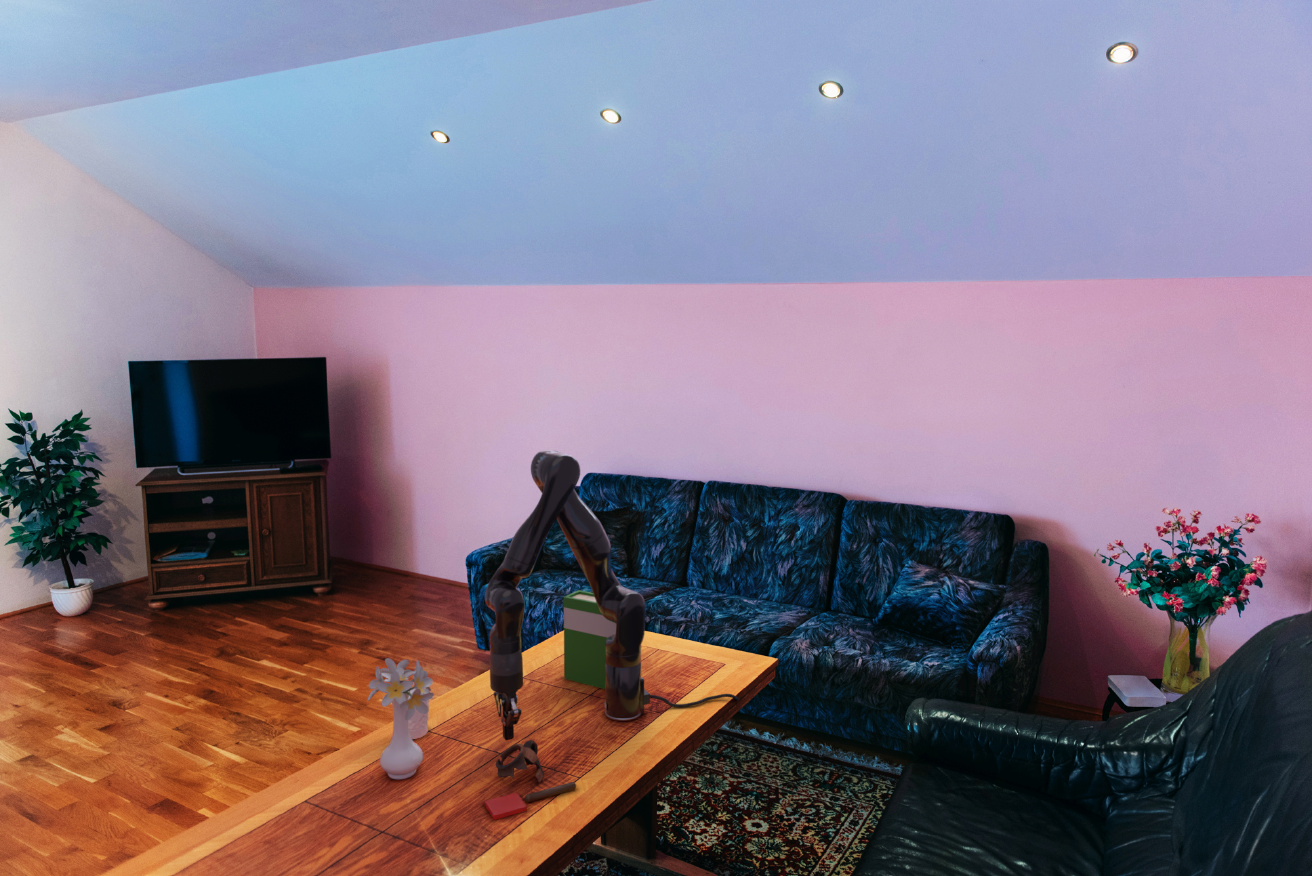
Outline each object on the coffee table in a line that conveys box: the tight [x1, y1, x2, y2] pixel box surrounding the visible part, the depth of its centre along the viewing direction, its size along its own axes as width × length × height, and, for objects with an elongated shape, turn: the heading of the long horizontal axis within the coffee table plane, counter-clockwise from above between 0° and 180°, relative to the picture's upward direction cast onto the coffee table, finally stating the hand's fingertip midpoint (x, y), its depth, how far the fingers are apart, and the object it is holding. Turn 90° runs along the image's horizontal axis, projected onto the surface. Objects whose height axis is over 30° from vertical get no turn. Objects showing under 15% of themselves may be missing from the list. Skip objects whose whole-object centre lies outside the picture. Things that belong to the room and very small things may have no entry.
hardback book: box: [563, 589, 616, 690], centre depth 235 cm, size 18×7×24 cm, turn 60°
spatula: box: [484, 781, 577, 821], centre depth 176 cm, size 19×6×2 cm, turn 119°
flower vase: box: [367, 657, 435, 780], centre depth 185 cm, size 13×18×25 cm
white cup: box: [407, 689, 430, 740], centre depth 204 cm, size 8×8×10 cm
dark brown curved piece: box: [495, 739, 545, 784], centre depth 186 cm, size 12×10×8 cm
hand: (508, 738), depth 196 cm, fingers closed
